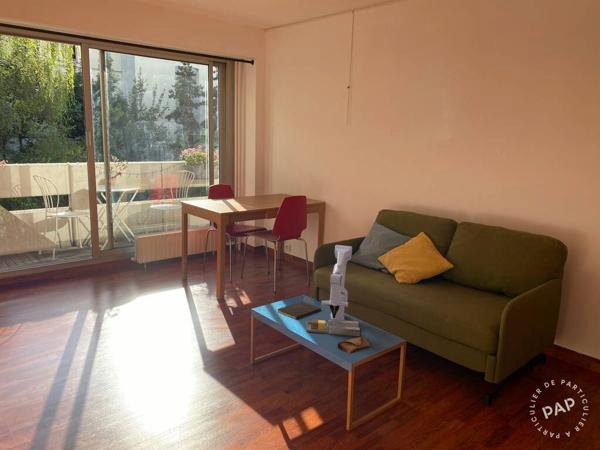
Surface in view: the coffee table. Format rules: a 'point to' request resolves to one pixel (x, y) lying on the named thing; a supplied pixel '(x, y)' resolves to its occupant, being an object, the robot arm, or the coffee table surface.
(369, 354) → the coffee table surface
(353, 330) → the channel
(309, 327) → the tray
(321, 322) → the mustard cube
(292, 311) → the hardcover book
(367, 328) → the coffee table surface
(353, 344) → the sunglasses case
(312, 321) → the walnut cube
